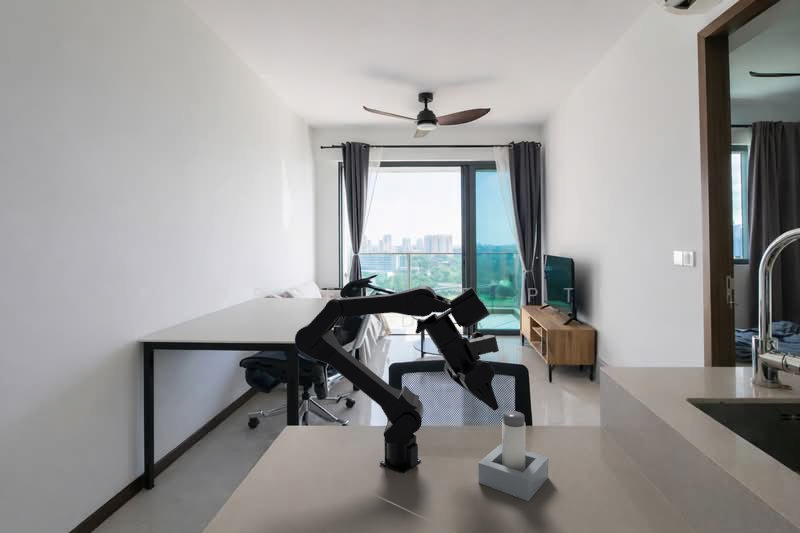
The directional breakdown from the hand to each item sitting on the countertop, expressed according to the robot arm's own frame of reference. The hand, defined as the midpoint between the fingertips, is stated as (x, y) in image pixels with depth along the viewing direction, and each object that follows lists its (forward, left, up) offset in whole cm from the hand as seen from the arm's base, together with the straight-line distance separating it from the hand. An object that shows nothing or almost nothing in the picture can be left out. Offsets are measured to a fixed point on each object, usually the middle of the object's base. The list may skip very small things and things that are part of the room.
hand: (489, 404), depth 89 cm
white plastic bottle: (+6, -2, -13) cm, 14 cm away
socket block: (+6, -2, -13) cm, 15 cm away
